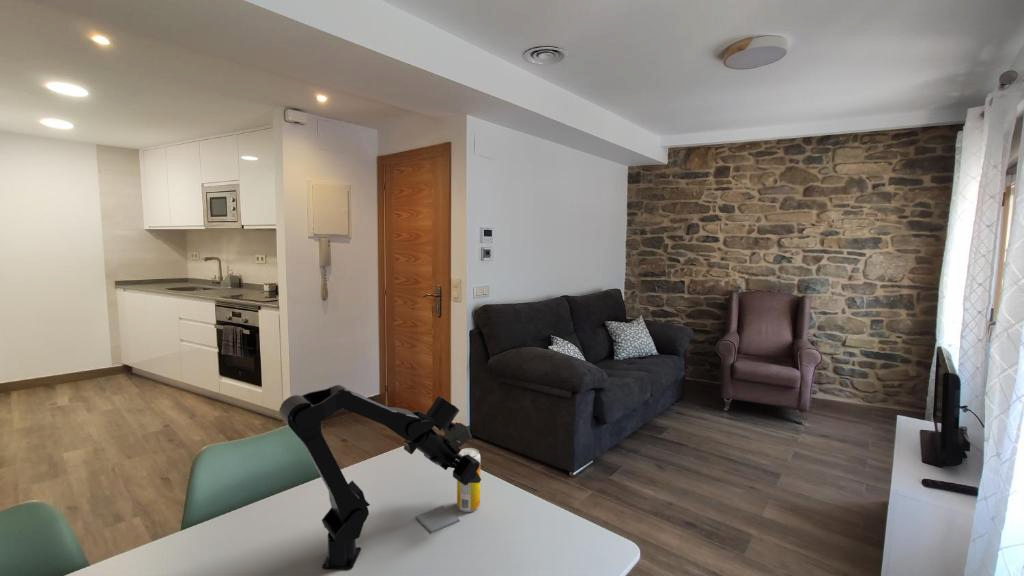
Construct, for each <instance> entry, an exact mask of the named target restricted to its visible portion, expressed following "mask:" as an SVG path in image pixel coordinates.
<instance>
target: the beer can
mask: <svg viewBox="0 0 1024 576" xmlns="http://www.w3.org/2000/svg"><path fill="white" fill-rule="evenodd" d="M467 454H468V455H470V456H471V457H473V458H474V459H476V460H477V461H478V462H480V463H481V454H480V452H479V450H478V449H476V448H472V447H466V448H463V449H461V451H460V453H459V454H457V455H459V456H460V457H463V456H464V455H467ZM456 460H457V459H456ZM457 461H459V460H457ZM459 462H460V461H459ZM477 473H478V474H479V476H480V477H481V465H480V466H479V468H478V469H477ZM480 505H481V481H480V482H479V483H468V485H463V484H462V483H461V482H459V481H458V480H457V479H456V507H458V508H459V510H460V511H461V512H465V513H471V512H472V513H473V512H475V511H477V510H478V508H479V506H480Z"/></svg>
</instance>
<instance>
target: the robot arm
mask: <svg viewBox="0 0 1024 576" xmlns="http://www.w3.org/2000/svg"><path fill="white" fill-rule="evenodd" d="M342 409H345V410H346V411H349V412H352V413H354V414H357V415H359V416H362V417H364V418H366V419H367V420H368V419H369V420H370V421H374V422H376V423H378V424H381V425H383V426H385V427H387V428H388V429H389V430H391V431H392V432H394V433H396V434H397V435H398V436H399V437H401V438H402V439H404V440H403V442H404V445H403V450H404V451H405V452H407V453H408V454H410V455H413V454H414V452H416V450H418V451H420V453H422V454H423V456H424V457H425V458H426V459H427V460H429V461H430V462H432V463H433V464H435V465H436V466H439V467H441V468H442V469H443V470H445V471H447V470H448V469H449V468H451V469H453V471H452V478H453V479H455V480H456V481H457V480H458V481H459V482H461V483H462V484H463V485H468V483H479V482H480V483H481V481H482V478H481V475H480V476H479V474H478V473H477V469H478V468H479V466H480V467H481V461H480V462H478V461H477V460H476V459H474V458H473V457H471V456H470V455H468V454H467V455H464V456H463V457H460V456H459V455H458V454H459V453H460V451H461V450H462V449H461V447H462V446H463V445H465V444H466V443H467V442H468V441H470V440H471V439H472V434H471V431H470V429H469V428H468V426H467V425H465V424H463V423H461V422H454V423H452V422H453V420H454V419H456V417H457V415H458V413H459V412H460V409H459V408H458V407H457V406H456V405H454V404H452V403H450V402H449V401H447V400H446V399H445V398H444V397H442V396H440V395H438V396H437V397H436V398H435V400H434V402H433V403H432V405H431V406H430V407H429V409H428V410H427V411H426V413H425V412H423V411H421V410H419V411H418V410H416V411H410V410H408V409H405V408H401V407H394V406H392V407H391V406H386V405H383V404H381V403H379V402H377V401H374V400H373V399H370V398H368V397H366V396H364V395H361V394H359V393H357V392H354V391H352V390H350V389H348V388H346V387H345V386H343V385H341V384H338V385H337V384H335V385H333V386H330V387H328V388H325V389H321V390H316V391H311V392H310V391H309V392H307V393H305V394H302V395H298V394H296V395H292V396H288V398H286V399H285V400H284V401H283V402H282V403H281V405H280V408H279V410H278V411H279V416H280V418H281V419H282V420H283V421H284V423H285V424H286V425H287V426H288V427H289V428H290V429H291V431H292V432H293V433H294V434H295V435H296V437H298V439H300V441H301V442H302V444H303V447H304V448H305V449H306V452H307V453H308V455H309V457H310V459H311V461H312V463H313V465H314V466H315V468H316V470H317V471H318V474H319V476H320V478H321V479H322V481H323V483H324V485H325V487H326V489H327V490H328V495H329V496H328V497H329V503H330V507H331V508H330V509H329V510H328V511H327V512H326V513H325V515H324V516H323V517H322V519H321V523H322V525H323V526H324V528H325V529H326V530H327V532H328V533H327V557H326V558H325V559H324V560H325V561H324V562H323V563H322V565H321V567H322V569H323V570H327V569H328V570H329V569H330V570H332V569H333V570H350V569H351V570H352V569H353V568H354V566H355V564H356V562H357V559H358V557H359V555H360V553H361V551H362V547H359V546H356V545H357V541H356V540H357V539H360V536H361V533H362V530H363V528H364V523H366V520H367V519H368V516H369V515H370V513H369V512H370V511H369V506H370V503H369V501H367V500H366V497H365V494H364V492H363V490H362V489H361V488H360V487H359V485H357V483H356V482H354V480H351V481H350V482H349V483H348V482H347V480H346V478H345V475H344V473H343V472H342V470H341V468H340V466H339V464H338V463H337V460H336V458H335V456H334V455H333V453H332V451H331V449H330V447H329V445H328V443H327V440H325V438H324V434H323V427H322V425H323V424H322V421H325V420H326V419H328V418H330V417H331V416H333V414H335V413H336V412H338V411H339V410H342ZM433 428H434V429H436V430H438V432H441V431H444V435H442V434H440V433H438V432H437V431H435V430H434V429H433ZM457 460H459V461H460V462H459V461H457Z"/></svg>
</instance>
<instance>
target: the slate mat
mask: <svg viewBox="0 0 1024 576" xmlns="http://www.w3.org/2000/svg"><path fill="white" fill-rule="evenodd" d="M415 519H416V520H417V521H418V522H419V523H420V524H421V525H422V526H423V527H425V529H426V530H427V531H429V532H430V533H431V534H434V533H435V532H436V533H437V532H438V531H441V530H442V529H445V528H447V527H450V526H451V525H452V526H453V525H454V524H457V523H458V522H460V521H461V519H460V518H459V517H458V516H456V515H455V514H454V513H453V512H452V511H450V510H449V509H448V508H447V507H446V506H444V505H441V506H437V507H436V508H433V509H430V510H428V511H425V512H423V513H420V514H418V515H415Z"/></svg>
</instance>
